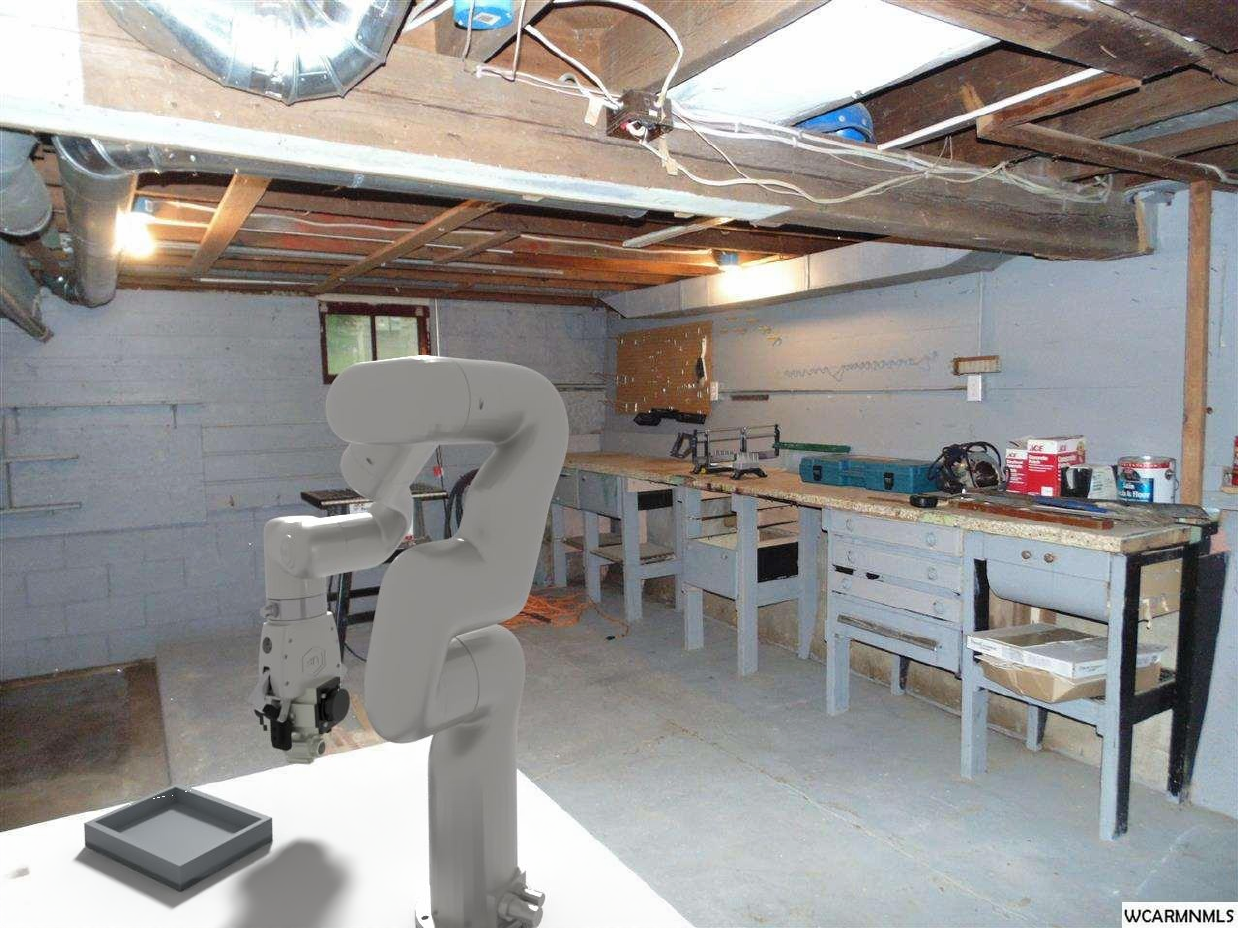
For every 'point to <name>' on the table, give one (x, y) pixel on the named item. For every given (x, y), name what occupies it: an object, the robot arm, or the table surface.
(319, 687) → the pneumatic valve
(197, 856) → the parts tray
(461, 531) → the robot arm
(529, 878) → the table surface
